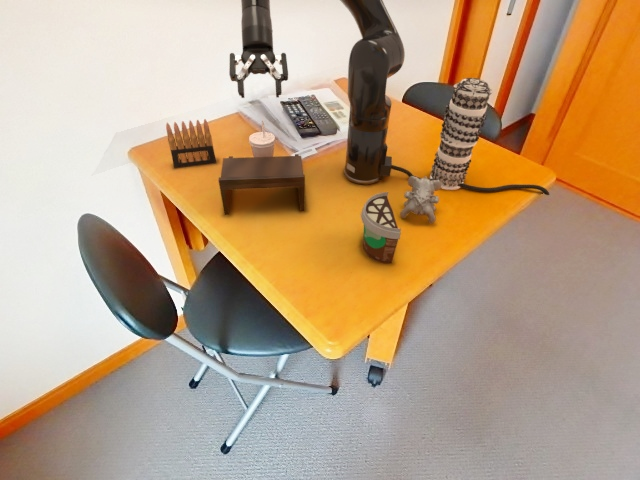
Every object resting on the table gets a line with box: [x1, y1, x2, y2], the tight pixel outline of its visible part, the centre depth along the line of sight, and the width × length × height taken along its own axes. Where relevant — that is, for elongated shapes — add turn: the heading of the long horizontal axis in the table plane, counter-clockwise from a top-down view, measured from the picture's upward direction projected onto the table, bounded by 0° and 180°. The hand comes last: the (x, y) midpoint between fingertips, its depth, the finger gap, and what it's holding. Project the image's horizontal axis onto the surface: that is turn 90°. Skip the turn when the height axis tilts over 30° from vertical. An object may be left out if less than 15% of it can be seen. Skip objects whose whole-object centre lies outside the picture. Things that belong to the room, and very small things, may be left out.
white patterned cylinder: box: [429, 77, 494, 191], centre depth 93 cm, size 9×9×25 cm
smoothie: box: [248, 120, 276, 157], centre depth 97 cm, size 6×6×14 cm
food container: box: [360, 191, 402, 264], centre depth 79 cm, size 12×6×10 cm, turn 5°
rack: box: [218, 153, 306, 216], centre depth 94 cm, size 18×21×9 cm
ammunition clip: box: [165, 118, 217, 169], centre depth 100 cm, size 11×2×12 cm, turn 106°
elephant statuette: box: [399, 175, 442, 224], centre depth 90 cm, size 9×12×8 cm
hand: (260, 96), depth 98 cm, fingers open, 8 cm apart
